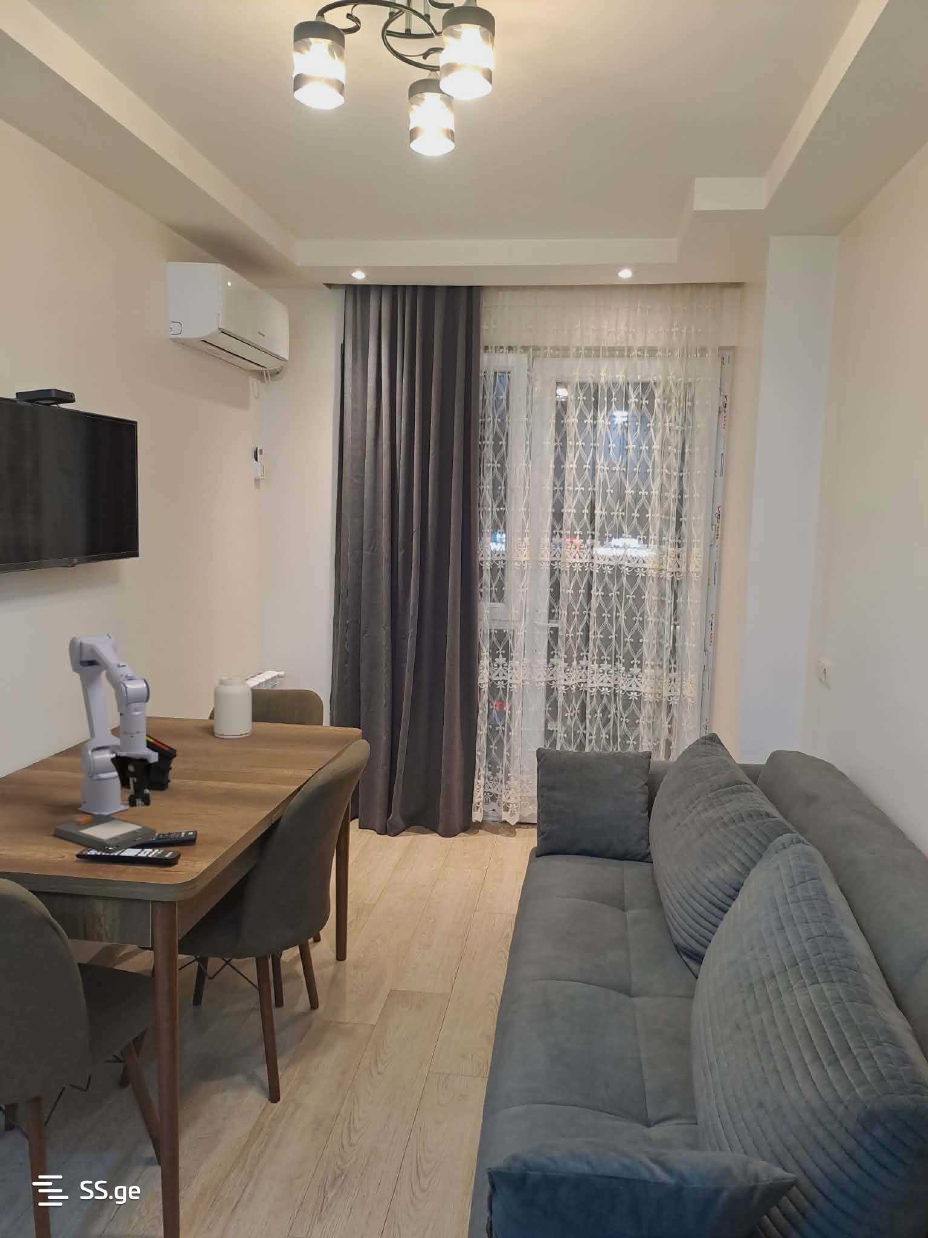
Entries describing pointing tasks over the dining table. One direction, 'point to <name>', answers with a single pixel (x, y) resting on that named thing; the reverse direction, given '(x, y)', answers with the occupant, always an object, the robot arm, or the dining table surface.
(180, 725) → the dining table surface
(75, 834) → the control panel
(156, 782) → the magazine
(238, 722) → the white jar
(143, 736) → the robot arm
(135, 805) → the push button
